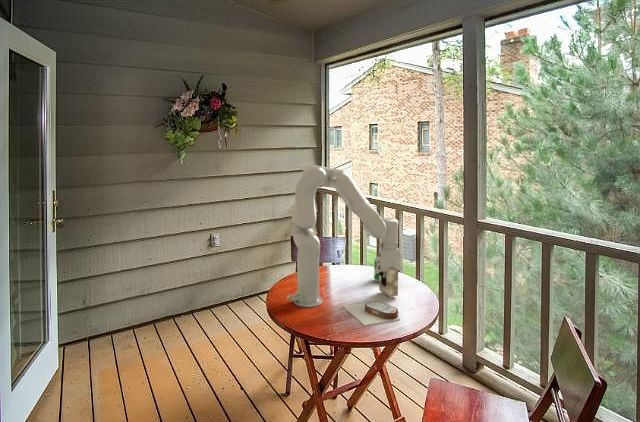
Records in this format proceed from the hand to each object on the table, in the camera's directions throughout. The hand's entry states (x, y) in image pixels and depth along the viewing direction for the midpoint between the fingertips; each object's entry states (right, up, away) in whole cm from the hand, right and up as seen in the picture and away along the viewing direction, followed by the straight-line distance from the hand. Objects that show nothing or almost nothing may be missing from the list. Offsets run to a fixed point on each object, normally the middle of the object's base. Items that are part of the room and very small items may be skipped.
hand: (388, 284), depth 200 cm
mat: (-10, -9, -20) cm, 24 cm away
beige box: (0, -4, 0) cm, 4 cm away
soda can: (0, -2, +21) cm, 21 cm away
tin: (-3, -6, -18) cm, 19 cm away
